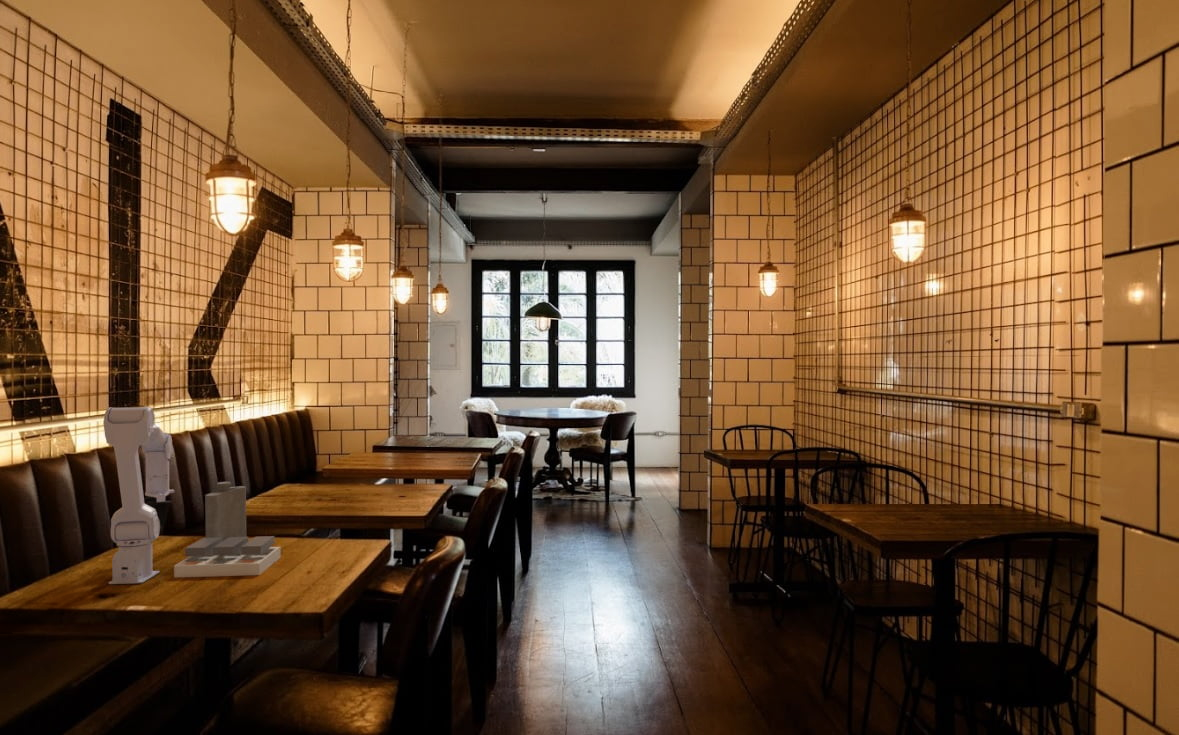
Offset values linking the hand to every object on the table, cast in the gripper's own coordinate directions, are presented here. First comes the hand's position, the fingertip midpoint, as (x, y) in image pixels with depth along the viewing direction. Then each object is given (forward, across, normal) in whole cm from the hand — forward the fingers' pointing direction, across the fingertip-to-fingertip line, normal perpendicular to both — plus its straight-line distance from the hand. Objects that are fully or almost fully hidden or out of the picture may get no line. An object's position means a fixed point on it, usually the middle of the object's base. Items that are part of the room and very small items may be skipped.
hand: (158, 524), depth 209 cm
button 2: (+5, -25, -21) cm, 33 cm away
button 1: (+5, -17, -9) cm, 20 cm away
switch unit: (+10, -21, -15) cm, 27 cm away
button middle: (+5, -21, -15) cm, 26 cm away
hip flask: (+10, -2, -17) cm, 20 cm away
